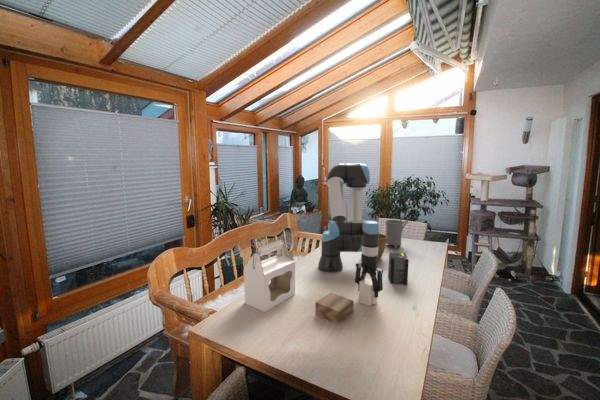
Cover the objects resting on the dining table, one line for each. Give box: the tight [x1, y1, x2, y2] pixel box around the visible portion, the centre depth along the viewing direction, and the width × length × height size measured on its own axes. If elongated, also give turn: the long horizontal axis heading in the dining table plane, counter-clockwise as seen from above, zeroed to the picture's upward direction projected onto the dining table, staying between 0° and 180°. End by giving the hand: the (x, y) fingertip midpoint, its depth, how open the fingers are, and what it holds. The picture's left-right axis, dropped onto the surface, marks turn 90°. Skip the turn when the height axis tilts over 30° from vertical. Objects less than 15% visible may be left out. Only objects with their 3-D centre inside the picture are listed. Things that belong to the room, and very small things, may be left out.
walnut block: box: [314, 292, 355, 325], centre depth 126 cm, size 12×12×6 cm
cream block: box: [358, 277, 374, 307], centre depth 137 cm, size 6×6×10 cm
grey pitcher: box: [385, 215, 410, 250], centre depth 223 cm, size 19×15×25 cm
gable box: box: [243, 239, 296, 313], centre depth 138 cm, size 22×13×28 cm, turn 142°
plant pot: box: [378, 233, 387, 261], centre depth 196 cm, size 15×15×16 cm
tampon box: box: [387, 251, 410, 286], centre depth 161 cm, size 11×9×15 cm
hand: (367, 300), depth 138 cm, fingers open, 6 cm apart
